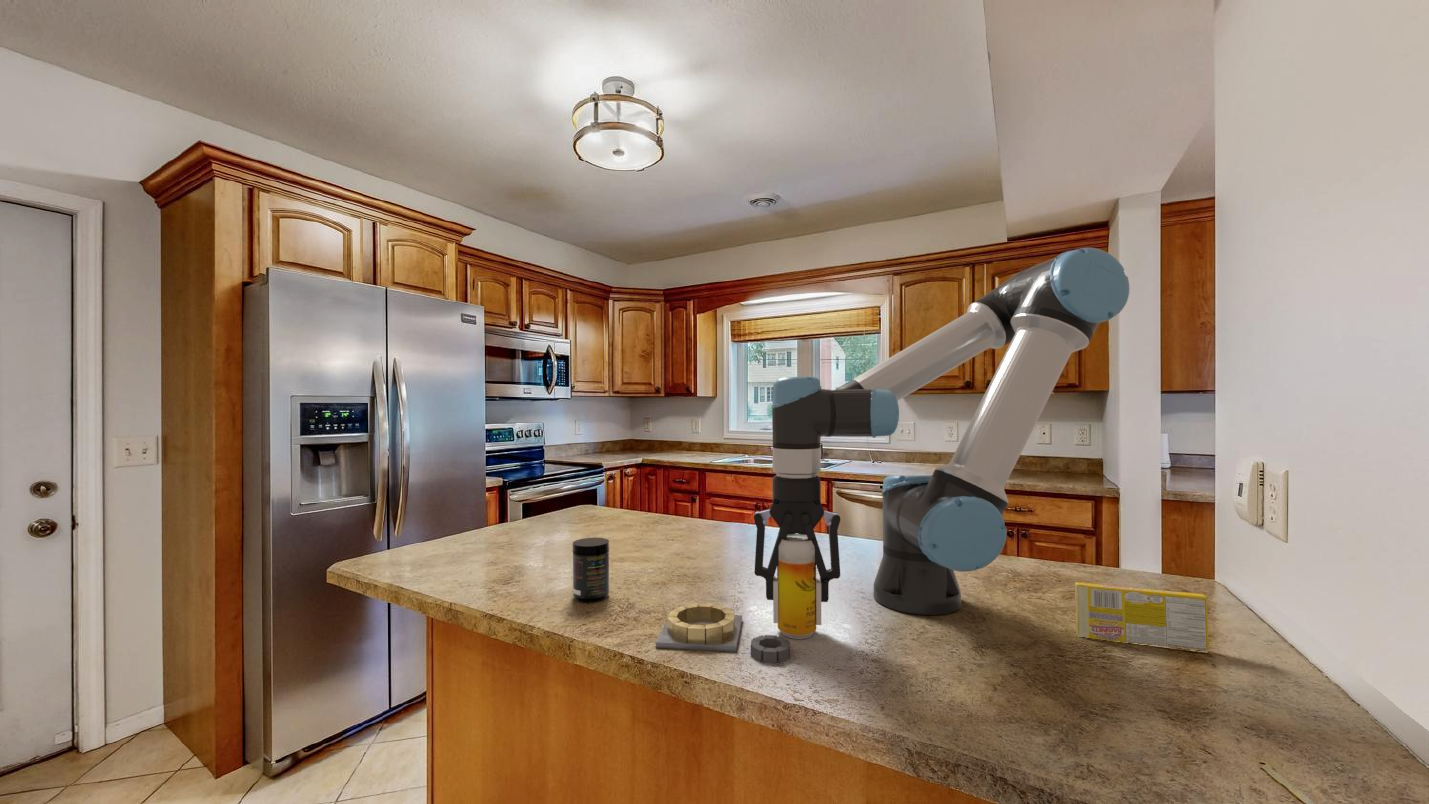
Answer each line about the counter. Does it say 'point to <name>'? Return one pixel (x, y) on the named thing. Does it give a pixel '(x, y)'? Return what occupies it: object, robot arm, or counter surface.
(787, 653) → the ring
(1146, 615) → the candy box
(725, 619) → the collar block
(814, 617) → the beer can
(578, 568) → the supplement container
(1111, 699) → the counter surface
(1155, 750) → the counter surface
